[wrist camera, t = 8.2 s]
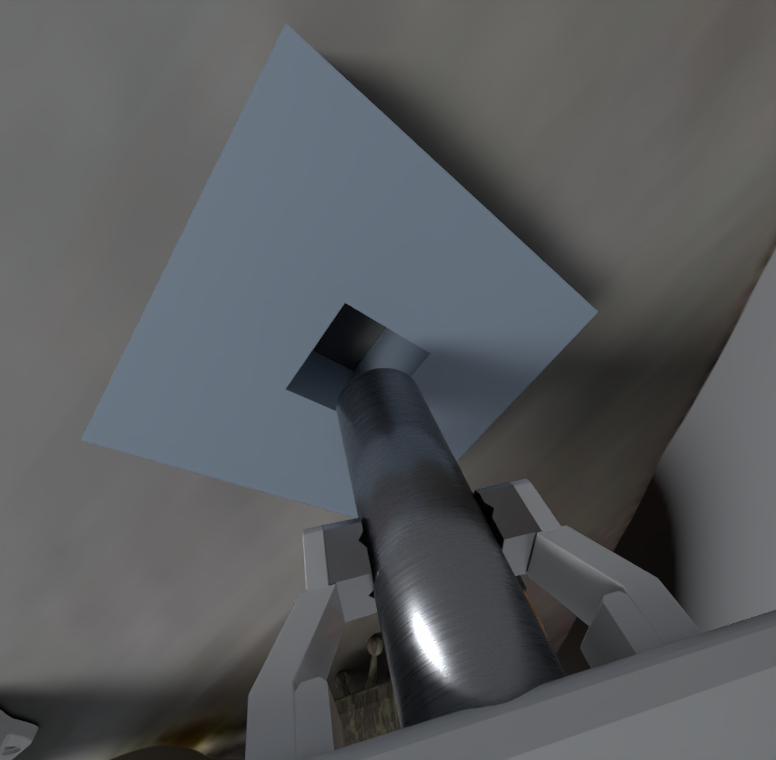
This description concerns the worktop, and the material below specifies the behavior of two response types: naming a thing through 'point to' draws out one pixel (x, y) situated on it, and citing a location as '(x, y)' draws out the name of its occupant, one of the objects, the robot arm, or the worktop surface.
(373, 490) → the steel pin
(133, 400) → the bore block
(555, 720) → the robot arm
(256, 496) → the worktop surface
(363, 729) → the tabletop clock
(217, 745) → the worktop surface
